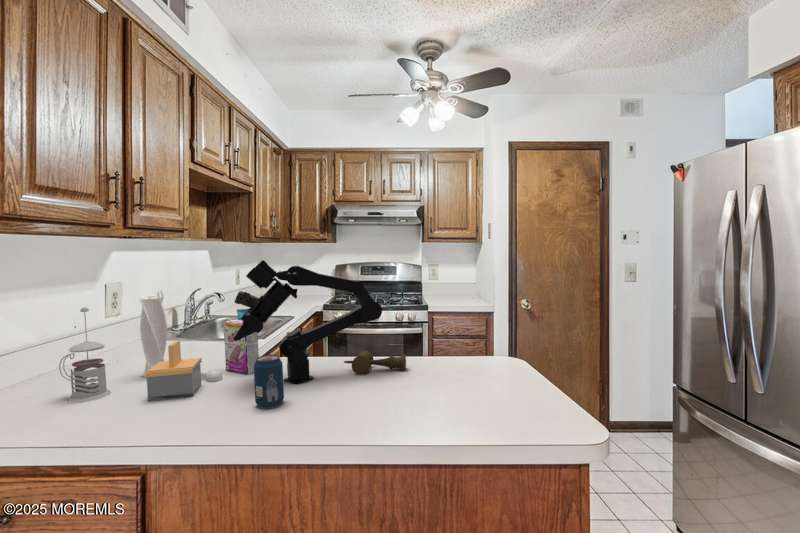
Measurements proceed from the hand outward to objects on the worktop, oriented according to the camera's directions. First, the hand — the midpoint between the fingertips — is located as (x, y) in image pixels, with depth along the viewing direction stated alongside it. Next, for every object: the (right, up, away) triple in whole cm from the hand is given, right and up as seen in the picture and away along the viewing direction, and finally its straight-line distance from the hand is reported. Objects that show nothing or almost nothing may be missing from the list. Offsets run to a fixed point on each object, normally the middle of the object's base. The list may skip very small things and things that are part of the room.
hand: (234, 339), depth 119 cm
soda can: (+15, -14, -15) cm, 25 cm away
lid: (-15, -8, -4) cm, 17 cm away
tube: (-5, -13, +27) cm, 31 cm away
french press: (-40, -15, -4) cm, 43 cm away
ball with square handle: (-11, -14, +8) cm, 19 cm away
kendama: (+40, -12, +12) cm, 43 cm away
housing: (-15, -14, -3) cm, 21 cm away
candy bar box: (-4, -13, +16) cm, 21 cm away
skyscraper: (-31, -15, +14) cm, 37 cm away
